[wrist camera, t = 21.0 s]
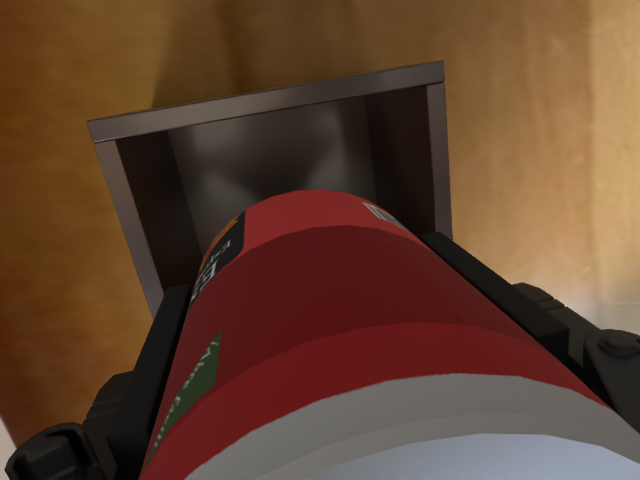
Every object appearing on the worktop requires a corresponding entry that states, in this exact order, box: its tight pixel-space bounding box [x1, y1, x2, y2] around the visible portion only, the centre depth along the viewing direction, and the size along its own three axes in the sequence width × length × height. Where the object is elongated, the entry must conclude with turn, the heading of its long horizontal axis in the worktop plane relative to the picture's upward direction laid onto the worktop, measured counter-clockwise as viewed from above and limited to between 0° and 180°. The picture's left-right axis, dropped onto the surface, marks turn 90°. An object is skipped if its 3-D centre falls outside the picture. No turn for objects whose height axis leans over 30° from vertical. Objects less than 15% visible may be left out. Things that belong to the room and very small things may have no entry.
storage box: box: [86, 60, 453, 321], centre depth 23 cm, size 14×14×11 cm
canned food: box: [139, 189, 640, 480], centre depth 10 cm, size 8×8×11 cm
